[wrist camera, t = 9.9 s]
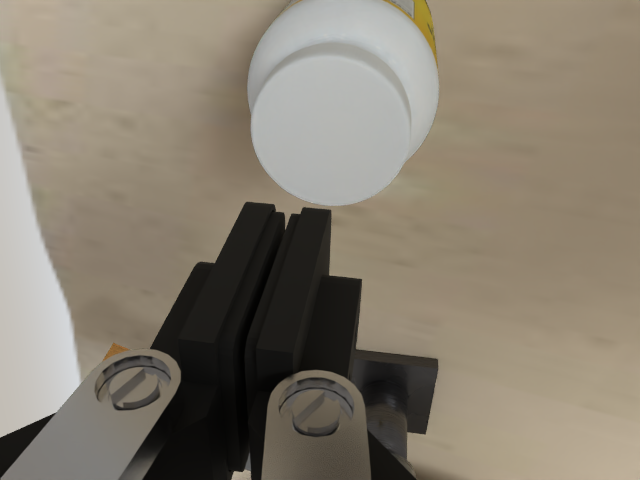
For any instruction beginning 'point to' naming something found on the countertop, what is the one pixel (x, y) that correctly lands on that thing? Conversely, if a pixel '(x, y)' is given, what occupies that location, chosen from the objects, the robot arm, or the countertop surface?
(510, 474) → the countertop surface
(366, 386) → the dark grey faucet base
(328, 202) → the pill bottle
